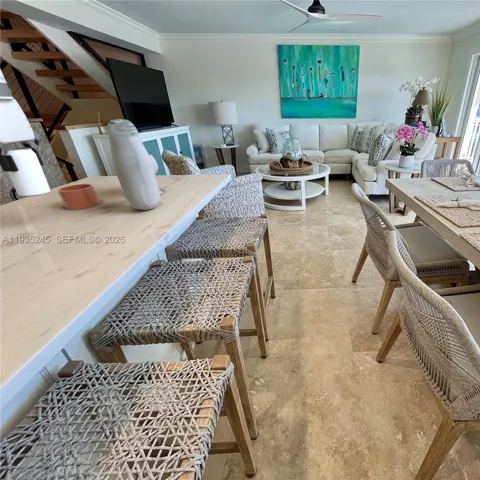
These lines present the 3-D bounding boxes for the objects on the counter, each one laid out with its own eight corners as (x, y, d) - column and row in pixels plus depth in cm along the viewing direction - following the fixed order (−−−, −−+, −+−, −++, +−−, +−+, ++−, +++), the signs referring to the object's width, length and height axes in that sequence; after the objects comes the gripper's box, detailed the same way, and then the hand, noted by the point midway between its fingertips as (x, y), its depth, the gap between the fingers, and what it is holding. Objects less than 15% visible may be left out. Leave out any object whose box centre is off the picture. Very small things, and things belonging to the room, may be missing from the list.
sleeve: (75, 213, 86) (66, 193, 83) (61, 209, 90) (51, 189, 87) (106, 205, 94) (98, 185, 90) (92, 201, 97) (84, 182, 94)
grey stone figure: (169, 206, 92) (145, 118, 79) (138, 216, 84) (106, 120, 71) (154, 201, 97) (129, 117, 84) (124, 210, 89) (91, 119, 76)
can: (27, 191, 75) (7, 147, 70) (55, 190, 77) (38, 147, 72) (12, 197, 70) (-10, 150, 65) (44, 196, 72) (24, 149, 67)
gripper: (7, 93, 70) (38, 162, 78) (-76, 89, 55) (-27, 175, 63) (37, 93, 70) (65, 162, 79) (-37, 90, 55) (7, 176, 63)
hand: (24, 167), depth 71 cm, fingers closed on can, 6 cm apart
